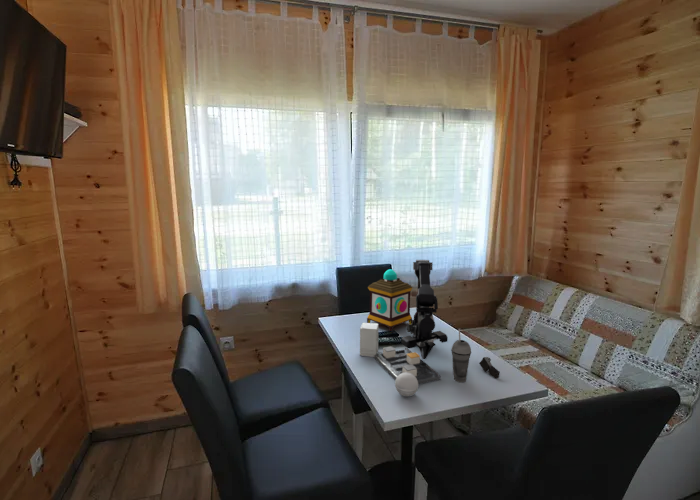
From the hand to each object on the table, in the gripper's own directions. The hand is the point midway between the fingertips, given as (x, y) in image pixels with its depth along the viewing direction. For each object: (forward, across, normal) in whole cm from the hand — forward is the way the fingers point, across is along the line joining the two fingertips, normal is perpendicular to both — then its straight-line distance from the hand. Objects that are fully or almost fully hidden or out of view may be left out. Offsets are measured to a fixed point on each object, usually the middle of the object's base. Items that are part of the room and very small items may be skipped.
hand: (423, 359), depth 150 cm
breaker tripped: (+1, +5, 0) cm, 5 cm away
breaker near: (+1, +12, +8) cm, 14 cm away
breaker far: (+1, +12, -9) cm, 14 cm away
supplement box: (+3, +16, -18) cm, 25 cm away
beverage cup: (+3, -6, +15) cm, 17 cm away
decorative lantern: (+3, -8, -46) cm, 47 cm away
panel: (+2, +8, 0) cm, 9 cm away
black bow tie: (+3, -20, +15) cm, 25 cm away
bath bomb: (+3, +18, +17) cm, 25 cm away
